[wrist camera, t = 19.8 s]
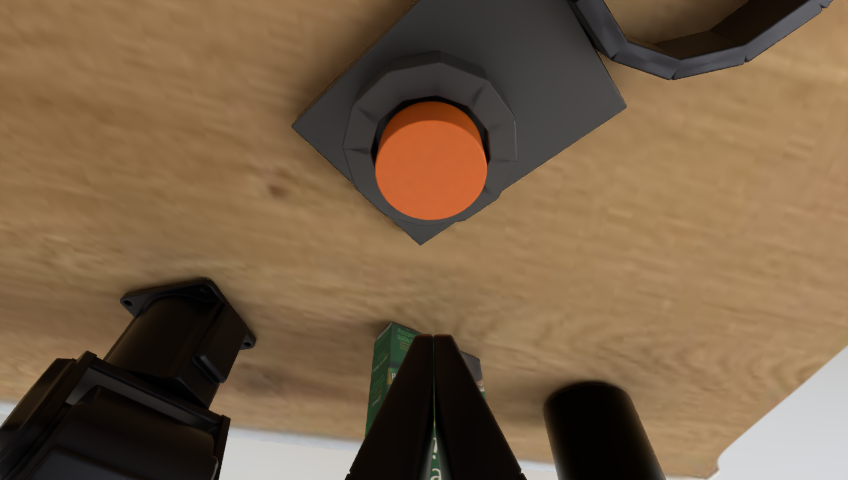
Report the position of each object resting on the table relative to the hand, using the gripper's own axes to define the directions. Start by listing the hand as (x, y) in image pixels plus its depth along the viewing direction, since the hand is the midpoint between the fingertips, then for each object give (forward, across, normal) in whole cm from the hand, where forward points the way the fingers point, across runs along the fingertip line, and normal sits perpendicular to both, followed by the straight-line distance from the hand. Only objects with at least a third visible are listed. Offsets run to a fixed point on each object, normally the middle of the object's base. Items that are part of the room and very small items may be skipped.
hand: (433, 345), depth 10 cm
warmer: (+13, -1, -1) cm, 13 cm away
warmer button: (+10, 0, 0) cm, 10 cm away
